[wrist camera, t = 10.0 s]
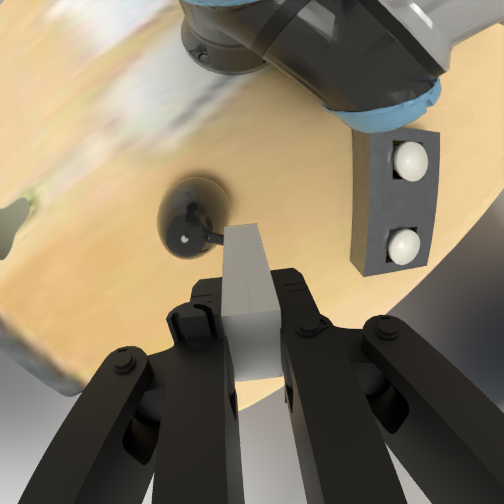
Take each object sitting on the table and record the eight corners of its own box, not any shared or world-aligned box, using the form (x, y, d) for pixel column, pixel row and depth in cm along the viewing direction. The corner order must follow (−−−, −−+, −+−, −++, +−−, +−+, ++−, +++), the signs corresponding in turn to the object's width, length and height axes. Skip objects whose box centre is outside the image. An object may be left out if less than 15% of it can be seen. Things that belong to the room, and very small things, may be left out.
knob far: (373, 218, 44) (393, 232, 38) (400, 215, 44) (422, 229, 38) (371, 249, 47) (389, 267, 41) (397, 245, 47) (416, 262, 41)
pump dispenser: (230, 237, 44) (230, 288, 31) (166, 234, 43) (141, 282, 30) (235, 174, 40) (237, 198, 26) (167, 171, 39) (134, 194, 25)
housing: (351, 124, 38) (369, 125, 32) (418, 130, 38) (439, 132, 33) (350, 260, 48) (363, 276, 43) (410, 251, 48) (426, 265, 43)
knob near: (374, 137, 38) (398, 140, 32) (403, 139, 38) (428, 143, 32) (375, 172, 41) (397, 181, 35) (403, 172, 41) (427, 181, 35)
